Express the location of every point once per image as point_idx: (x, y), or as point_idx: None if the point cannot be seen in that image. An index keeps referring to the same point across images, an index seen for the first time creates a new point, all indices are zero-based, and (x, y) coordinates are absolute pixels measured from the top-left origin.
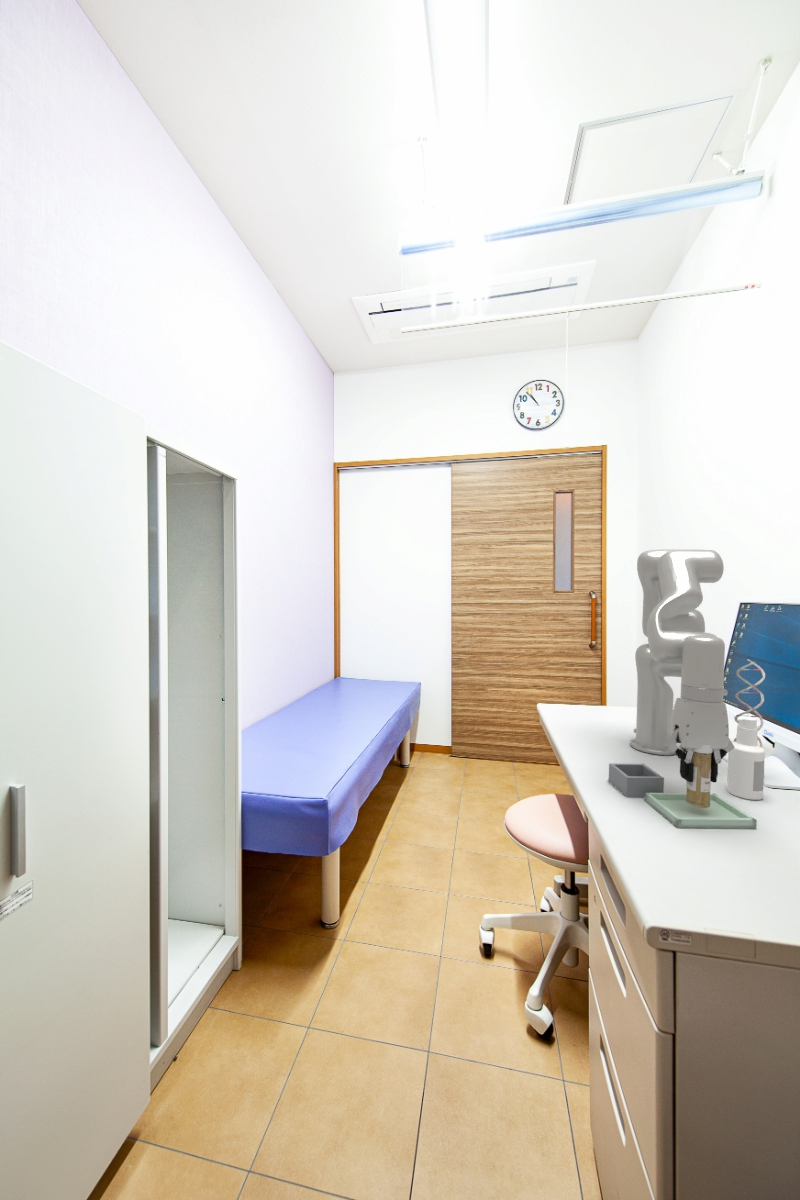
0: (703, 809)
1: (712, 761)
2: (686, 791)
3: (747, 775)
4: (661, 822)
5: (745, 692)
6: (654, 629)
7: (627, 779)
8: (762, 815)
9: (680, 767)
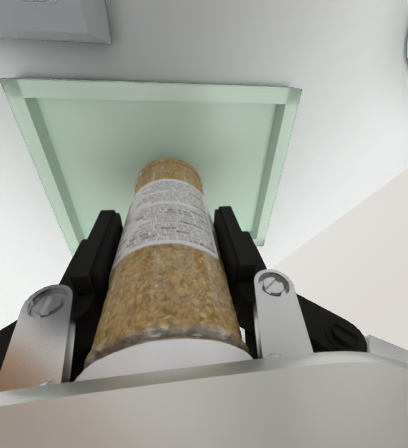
0: (194, 168)
1: (236, 315)
2: (137, 187)
3: None
4: (47, 221)
5: None
6: None
7: None
8: (335, 176)
9: (73, 262)
